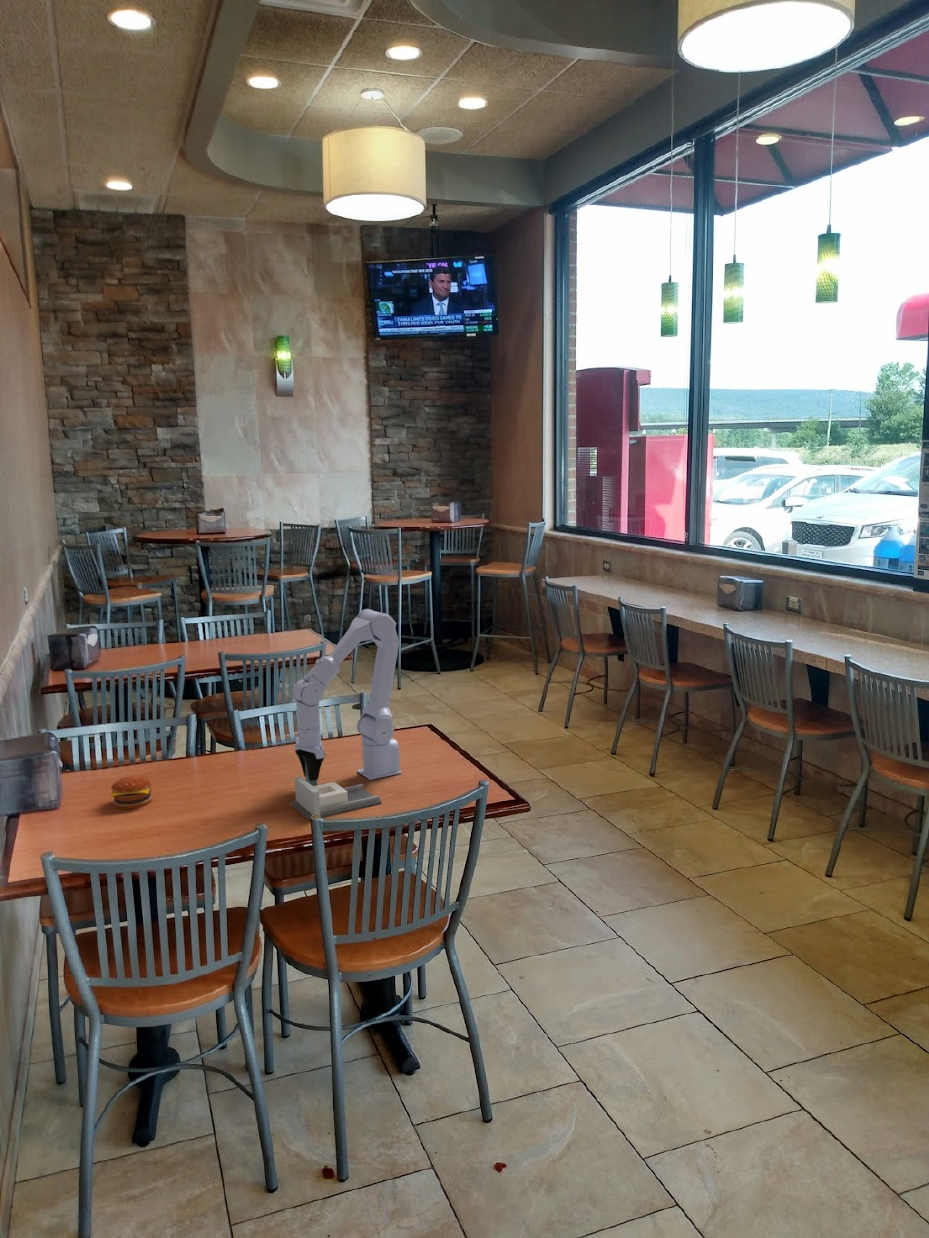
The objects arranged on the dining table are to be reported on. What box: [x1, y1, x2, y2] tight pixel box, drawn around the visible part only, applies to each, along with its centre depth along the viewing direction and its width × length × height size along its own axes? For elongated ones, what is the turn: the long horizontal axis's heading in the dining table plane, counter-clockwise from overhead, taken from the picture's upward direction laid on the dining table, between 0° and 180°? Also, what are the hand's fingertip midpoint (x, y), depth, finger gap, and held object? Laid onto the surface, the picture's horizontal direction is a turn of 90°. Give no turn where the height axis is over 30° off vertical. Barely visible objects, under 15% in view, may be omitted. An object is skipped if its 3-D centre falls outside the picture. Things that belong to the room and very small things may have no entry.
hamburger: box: [110, 774, 153, 810], centre depth 228 cm, size 9×10×7 cm
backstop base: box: [289, 776, 382, 821], centre depth 225 cm, size 19×12×7 cm, turn 121°
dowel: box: [305, 763, 318, 786], centre depth 235 cm, size 3×3×8 cm
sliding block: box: [313, 781, 348, 808], centre depth 224 cm, size 8×8×4 cm
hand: (311, 777), depth 235 cm, fingers closed on dowel, 3 cm apart
